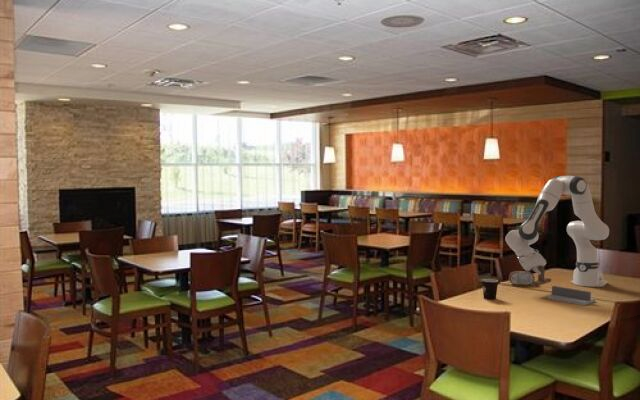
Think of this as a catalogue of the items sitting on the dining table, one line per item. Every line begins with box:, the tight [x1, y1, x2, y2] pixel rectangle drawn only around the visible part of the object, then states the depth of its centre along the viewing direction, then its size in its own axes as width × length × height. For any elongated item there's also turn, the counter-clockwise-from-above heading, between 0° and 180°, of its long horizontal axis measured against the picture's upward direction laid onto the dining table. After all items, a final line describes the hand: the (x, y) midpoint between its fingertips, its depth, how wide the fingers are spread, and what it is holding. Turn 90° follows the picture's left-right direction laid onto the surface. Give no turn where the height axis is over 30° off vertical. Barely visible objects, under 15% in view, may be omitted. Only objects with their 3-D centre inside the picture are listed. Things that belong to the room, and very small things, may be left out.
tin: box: [508, 270, 536, 286], centre depth 328 cm, size 15×3×8 cm, turn 84°
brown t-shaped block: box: [530, 265, 552, 287], centre depth 303 cm, size 18×2×10 cm, turn 130°
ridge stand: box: [546, 285, 596, 306], centre depth 288 cm, size 13×20×6 cm, turn 40°
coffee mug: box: [481, 278, 499, 301], centre depth 294 cm, size 12×9×10 cm
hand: (542, 273), depth 302 cm, fingers closed on brown t-shaped block, 2 cm apart
